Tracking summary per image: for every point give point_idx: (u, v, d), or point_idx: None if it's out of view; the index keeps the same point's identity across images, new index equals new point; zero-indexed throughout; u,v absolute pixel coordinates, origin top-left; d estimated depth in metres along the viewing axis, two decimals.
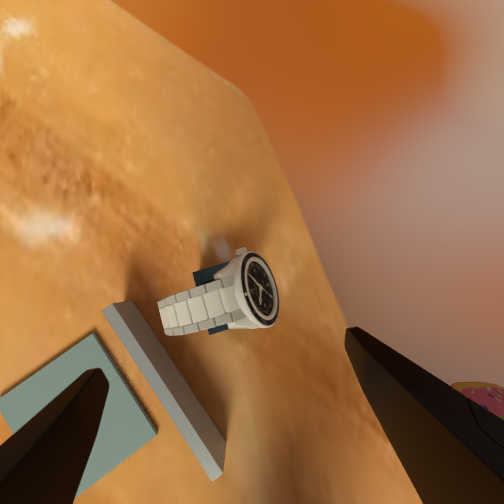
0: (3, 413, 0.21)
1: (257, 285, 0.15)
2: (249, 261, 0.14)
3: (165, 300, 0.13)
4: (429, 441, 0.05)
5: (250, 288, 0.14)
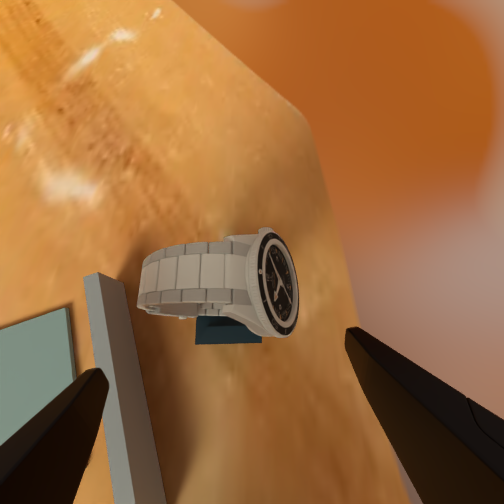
0: None
1: (276, 276, 0.11)
2: (274, 241, 0.11)
3: (152, 255, 0.10)
4: (429, 441, 0.05)
5: (267, 272, 0.10)
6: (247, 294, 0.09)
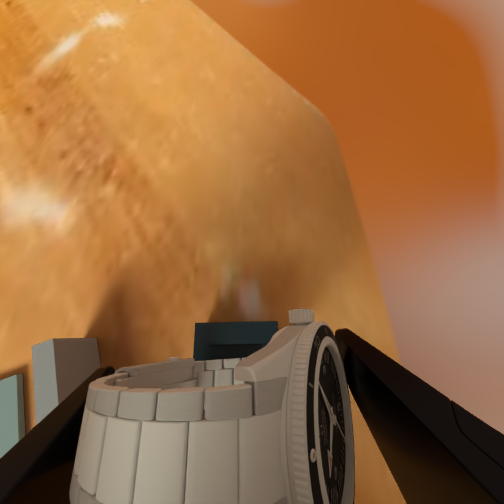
0: None
1: (327, 412, 0.06)
2: (322, 347, 0.06)
3: (96, 394, 0.05)
4: (413, 444, 0.05)
5: None
6: None
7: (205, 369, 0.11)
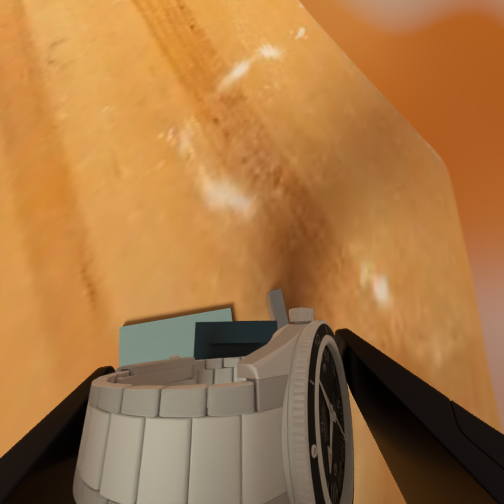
0: (120, 342, 0.21)
1: (327, 409, 0.06)
2: (323, 345, 0.06)
3: (100, 391, 0.05)
4: (413, 444, 0.05)
5: None
6: None
7: (205, 368, 0.11)
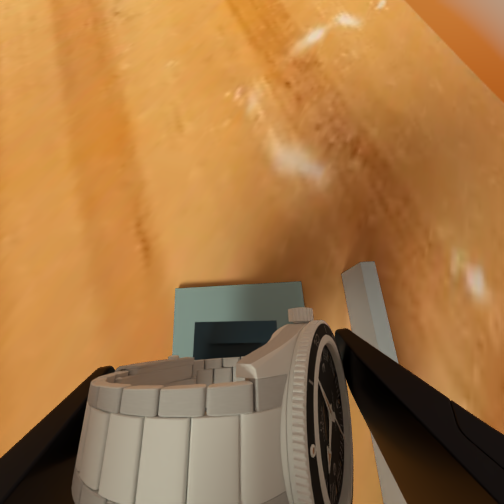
0: (175, 305, 0.18)
1: (326, 409, 0.06)
2: (322, 345, 0.06)
3: (99, 391, 0.05)
4: (413, 444, 0.05)
5: None
6: (287, 503, 0.04)
7: (205, 368, 0.11)
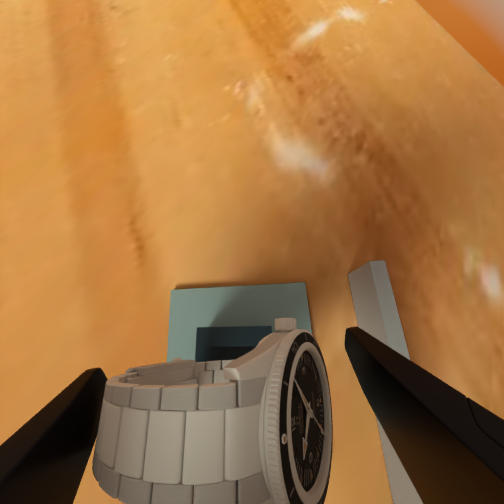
0: (170, 308, 0.17)
1: (304, 406, 0.07)
2: (300, 352, 0.07)
3: (113, 390, 0.06)
4: (429, 441, 0.05)
5: (292, 416, 0.06)
6: (263, 480, 0.05)
7: (205, 369, 0.12)
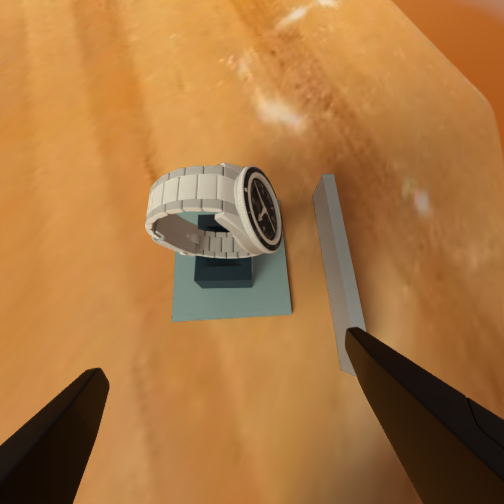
0: None
1: (261, 203, 0.13)
2: (259, 174, 0.13)
3: (158, 181, 0.12)
4: (429, 441, 0.05)
5: (252, 196, 0.12)
6: (235, 207, 0.11)
7: (204, 235, 0.18)
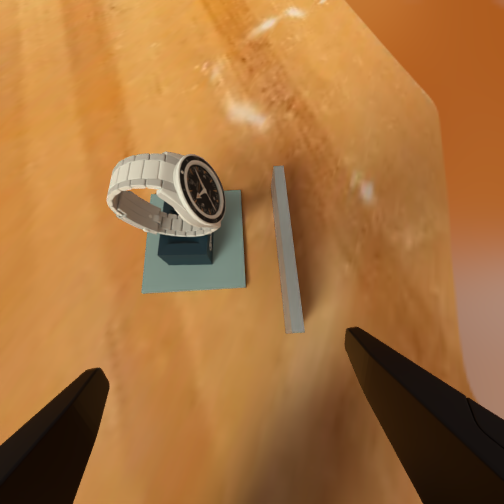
0: None
1: (201, 185, 0.16)
2: (200, 162, 0.16)
3: (116, 166, 0.15)
4: (429, 441, 0.05)
5: (191, 179, 0.15)
6: (173, 185, 0.14)
7: (167, 216, 0.21)
